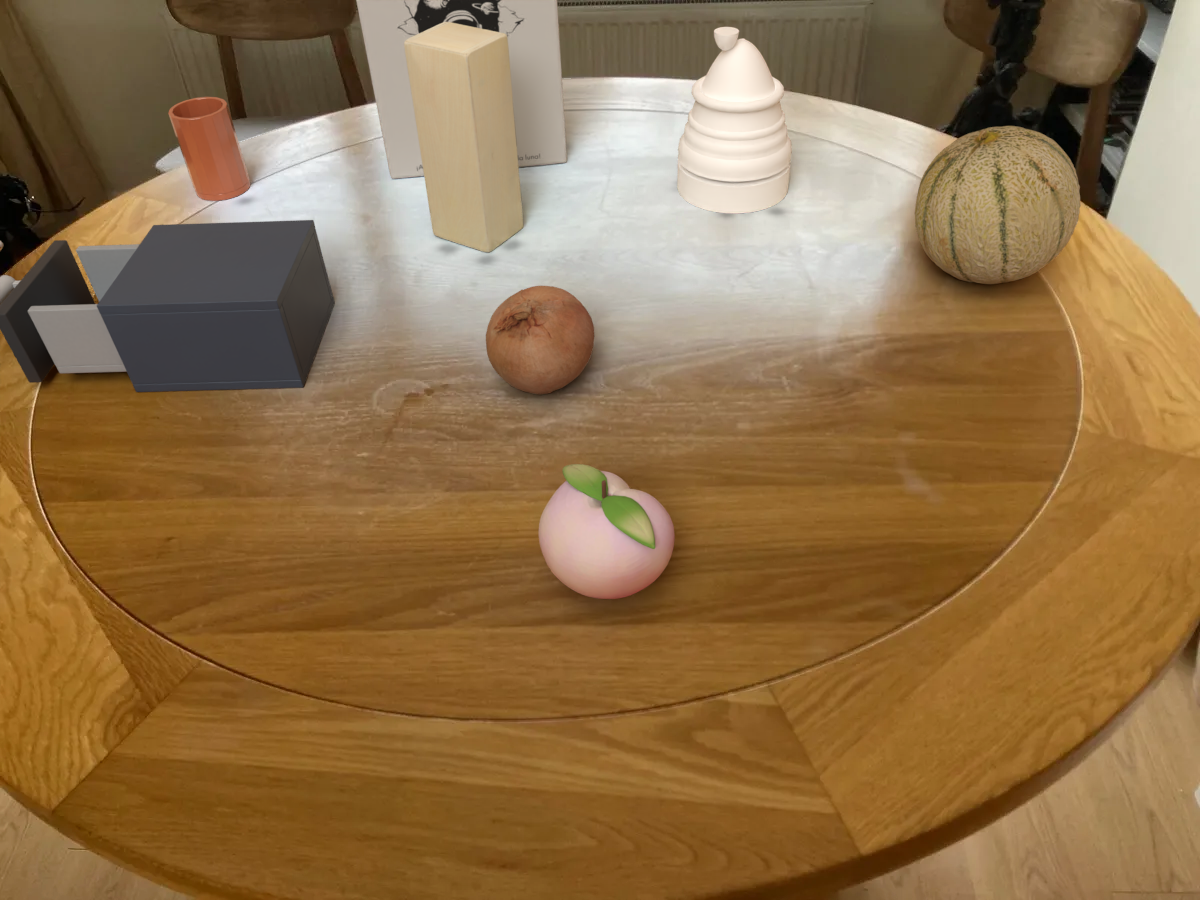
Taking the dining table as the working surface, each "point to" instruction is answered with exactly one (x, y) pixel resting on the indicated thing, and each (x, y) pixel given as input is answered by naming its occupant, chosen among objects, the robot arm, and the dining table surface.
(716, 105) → the honey pot
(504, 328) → the onion
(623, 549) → the decorative fruit
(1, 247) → the robot arm
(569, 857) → the dining table surface
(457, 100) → the tall wooden block
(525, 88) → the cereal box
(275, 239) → the cabinet
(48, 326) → the drawer
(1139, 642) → the dining table surface
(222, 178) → the cup
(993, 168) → the cantaloupe
